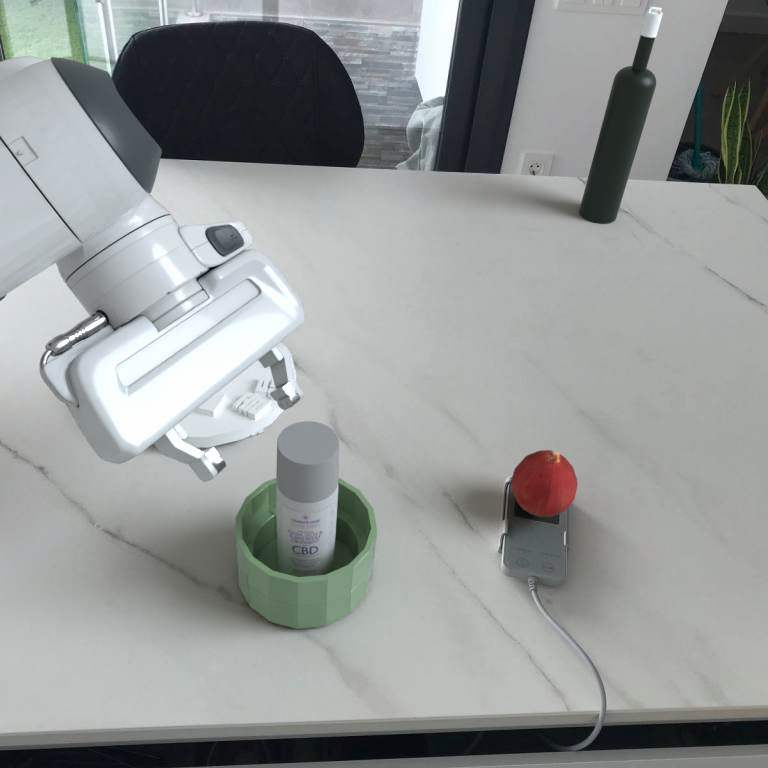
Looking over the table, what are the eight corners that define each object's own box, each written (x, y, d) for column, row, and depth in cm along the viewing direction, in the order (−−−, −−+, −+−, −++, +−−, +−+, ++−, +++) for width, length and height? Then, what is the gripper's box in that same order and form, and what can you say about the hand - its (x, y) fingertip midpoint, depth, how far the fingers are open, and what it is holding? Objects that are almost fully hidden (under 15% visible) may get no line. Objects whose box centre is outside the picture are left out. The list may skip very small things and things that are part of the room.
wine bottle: (595, 226, 118) (654, 15, 99) (571, 209, 122) (624, 3, 102) (623, 220, 120) (687, 13, 101) (599, 203, 124) (656, 1, 105)
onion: (493, 498, 73) (508, 438, 68) (542, 481, 76) (560, 420, 71) (528, 543, 70) (547, 482, 64) (579, 523, 72) (601, 463, 67)
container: (290, 602, 62) (290, 473, 53) (268, 559, 66) (265, 430, 56) (342, 581, 64) (352, 453, 55) (319, 540, 67) (324, 413, 58)
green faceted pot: (313, 657, 59) (314, 607, 55) (211, 580, 64) (205, 530, 60) (396, 566, 66) (403, 516, 62) (299, 503, 71) (299, 453, 67)
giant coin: (62, 393, 80) (56, 370, 78) (202, 312, 93) (200, 291, 91) (199, 485, 72) (197, 463, 70) (332, 382, 85) (333, 361, 83)
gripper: (42, 339, 46) (181, 518, 49) (256, 213, 60) (355, 358, 63) (8, 369, 51) (137, 532, 54) (215, 245, 65) (309, 380, 67)
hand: (257, 437), depth 58 cm, fingers open, 8 cm apart
